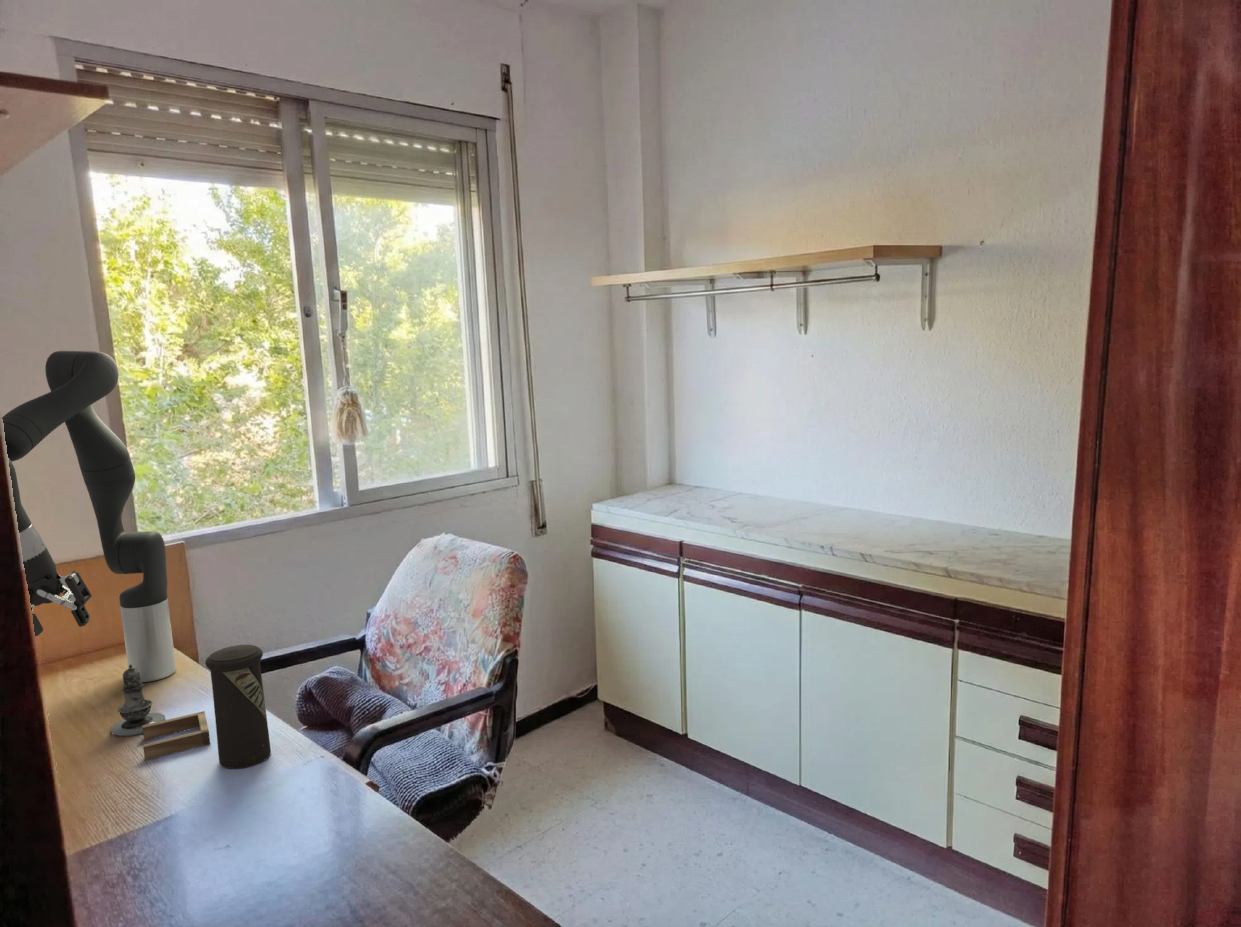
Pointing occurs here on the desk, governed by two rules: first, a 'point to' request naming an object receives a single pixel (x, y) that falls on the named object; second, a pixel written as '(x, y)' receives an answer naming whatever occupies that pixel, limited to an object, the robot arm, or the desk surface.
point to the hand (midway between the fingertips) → (61, 628)
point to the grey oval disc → (120, 731)
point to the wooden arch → (177, 742)
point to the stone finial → (134, 701)
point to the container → (239, 706)
